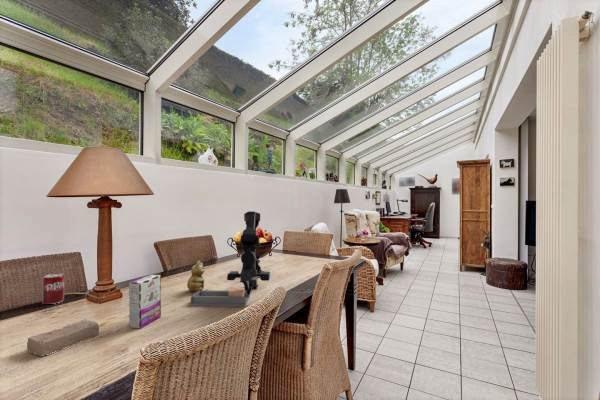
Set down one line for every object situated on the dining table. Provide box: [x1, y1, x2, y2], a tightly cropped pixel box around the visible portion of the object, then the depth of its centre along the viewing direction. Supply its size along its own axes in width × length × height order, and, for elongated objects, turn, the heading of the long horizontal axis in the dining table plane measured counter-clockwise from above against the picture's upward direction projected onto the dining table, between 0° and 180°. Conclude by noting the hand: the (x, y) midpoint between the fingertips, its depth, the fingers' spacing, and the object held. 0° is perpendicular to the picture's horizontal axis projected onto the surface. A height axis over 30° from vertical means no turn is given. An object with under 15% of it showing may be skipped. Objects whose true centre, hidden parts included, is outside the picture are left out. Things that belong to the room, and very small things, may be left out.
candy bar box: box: [128, 274, 162, 329], centre depth 108 cm, size 11×5×16 cm, turn 168°
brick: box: [26, 319, 100, 357], centre depth 92 cm, size 17×8×5 cm, turn 157°
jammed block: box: [228, 287, 246, 297], centre depth 130 cm, size 6×6×4 cm
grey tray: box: [189, 289, 251, 308], centre depth 130 cm, size 12×24×4 cm, turn 90°
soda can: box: [41, 273, 65, 305], centre depth 127 cm, size 7×7×12 cm
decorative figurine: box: [186, 260, 205, 293], centre depth 146 cm, size 10×8×15 cm
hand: (248, 294), depth 130 cm, fingers closed
